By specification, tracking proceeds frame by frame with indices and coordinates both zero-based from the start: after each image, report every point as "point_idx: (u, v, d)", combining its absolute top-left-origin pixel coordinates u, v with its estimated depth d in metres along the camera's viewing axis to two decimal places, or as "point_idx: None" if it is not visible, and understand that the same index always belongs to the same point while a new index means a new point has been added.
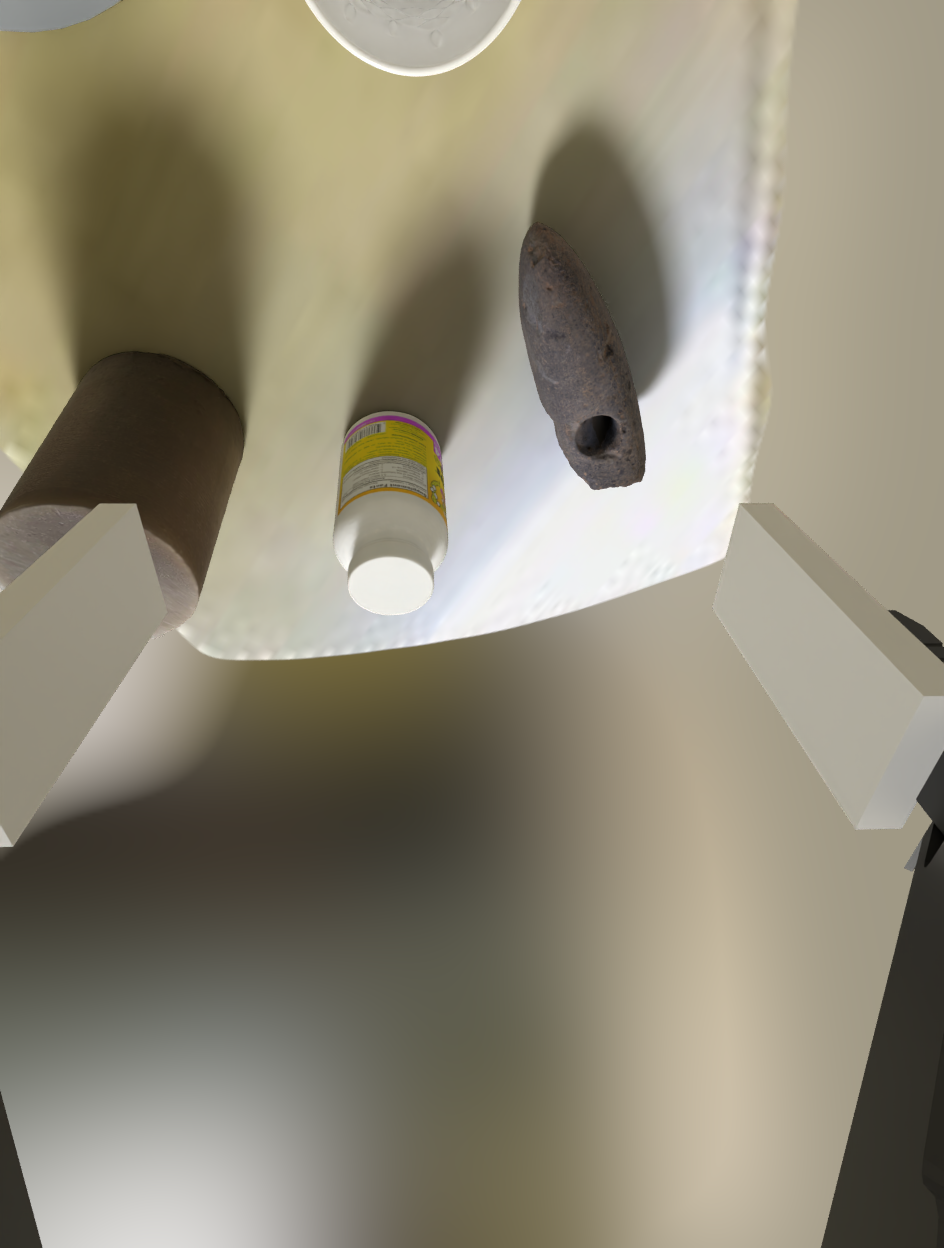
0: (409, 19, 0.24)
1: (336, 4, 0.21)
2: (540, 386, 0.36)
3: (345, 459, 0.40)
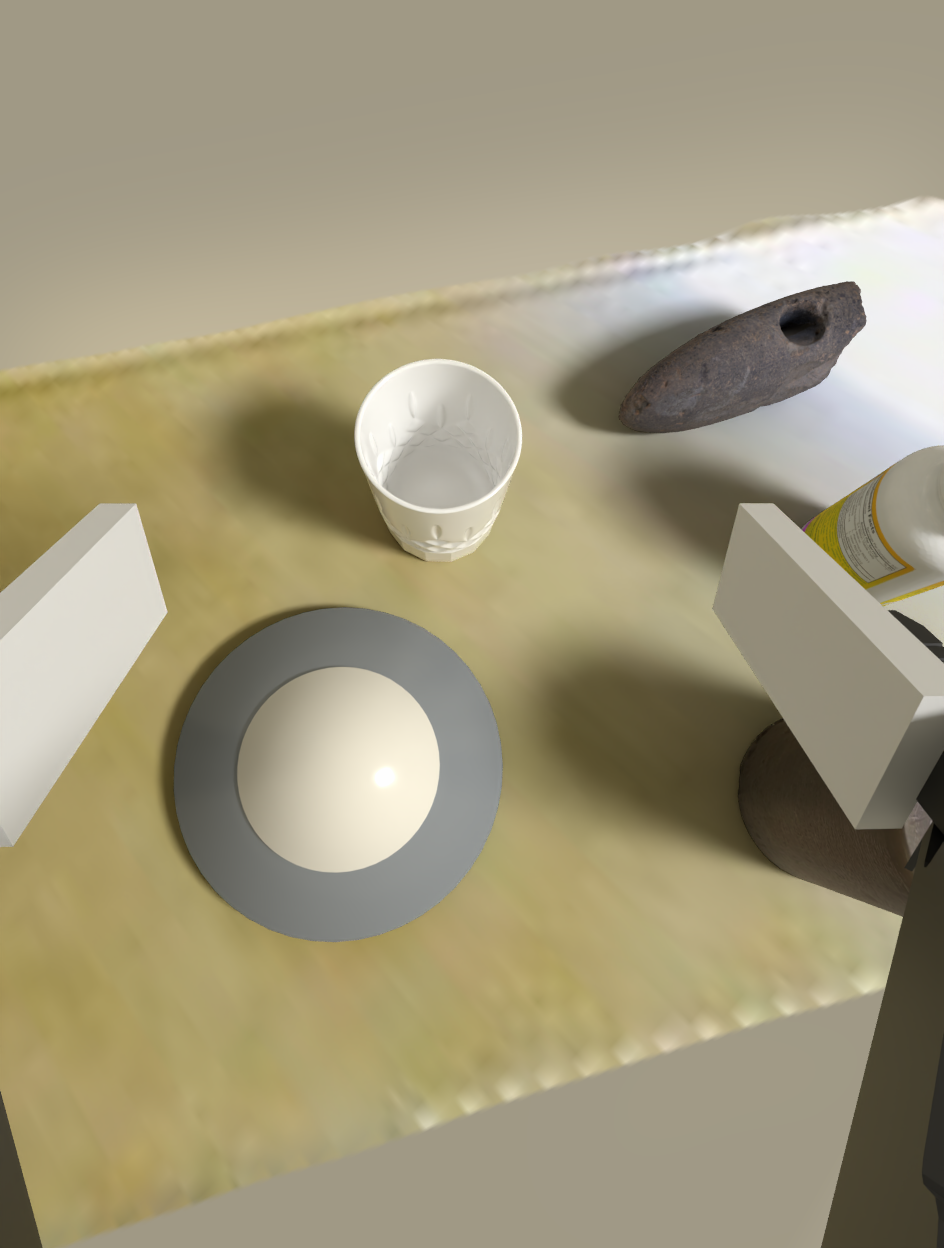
0: None
1: None
2: (754, 390, 0.37)
3: None
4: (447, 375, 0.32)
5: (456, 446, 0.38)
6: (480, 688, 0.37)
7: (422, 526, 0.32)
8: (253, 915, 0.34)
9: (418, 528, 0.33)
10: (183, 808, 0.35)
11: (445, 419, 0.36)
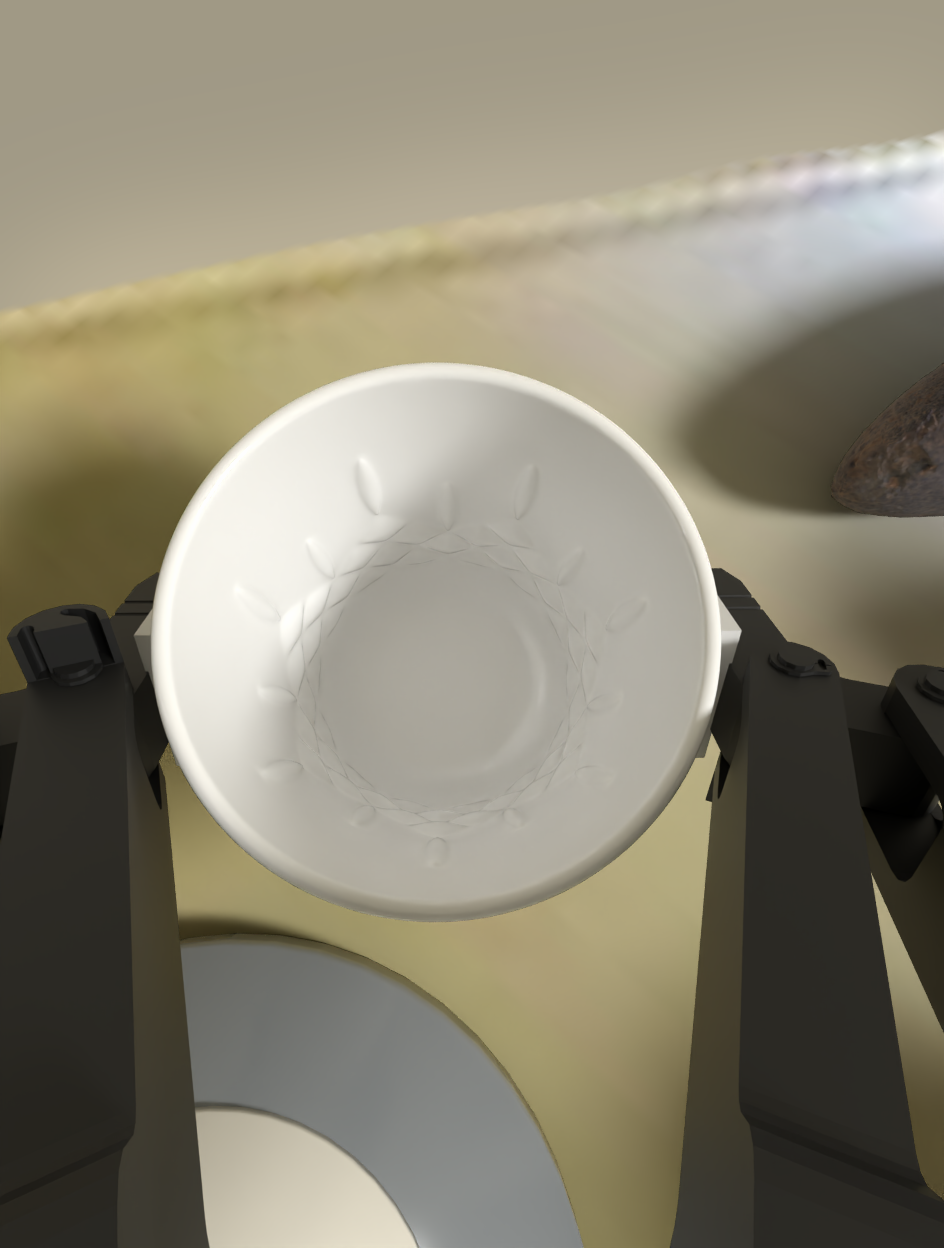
0: (586, 679, 0.14)
1: (585, 799, 0.11)
2: None
3: None
4: (467, 412, 0.11)
5: (482, 564, 0.17)
6: (542, 1153, 0.15)
7: None
8: None
9: None
10: None
11: (459, 514, 0.14)
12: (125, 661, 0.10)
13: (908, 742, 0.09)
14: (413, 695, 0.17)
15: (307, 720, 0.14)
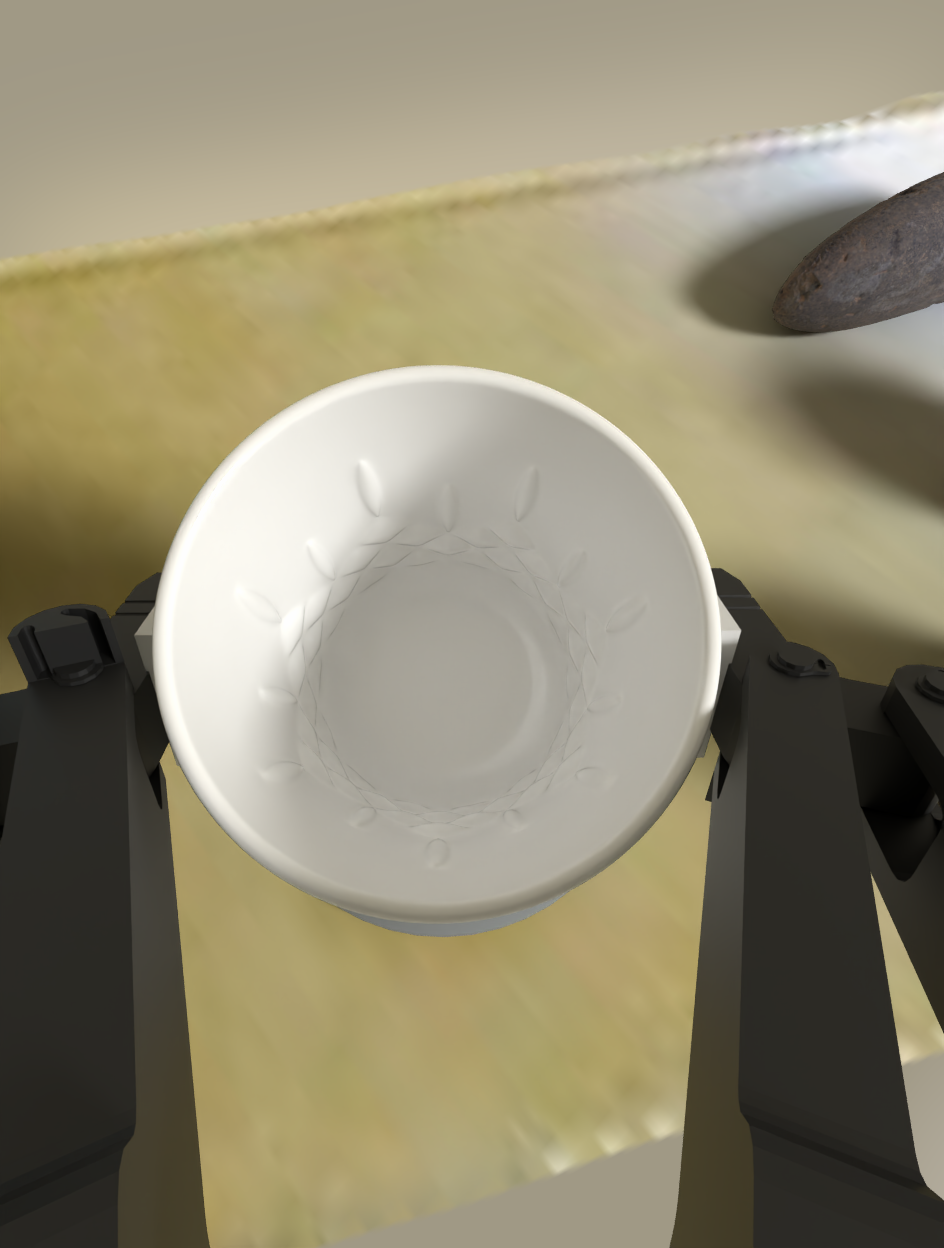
0: (586, 680, 0.14)
1: (586, 801, 0.11)
2: None
3: None
4: (467, 415, 0.11)
5: (482, 565, 0.17)
6: None
7: None
8: None
9: None
10: None
11: (459, 516, 0.14)
12: (125, 661, 0.10)
13: (907, 742, 0.09)
14: (413, 696, 0.17)
15: (308, 721, 0.14)
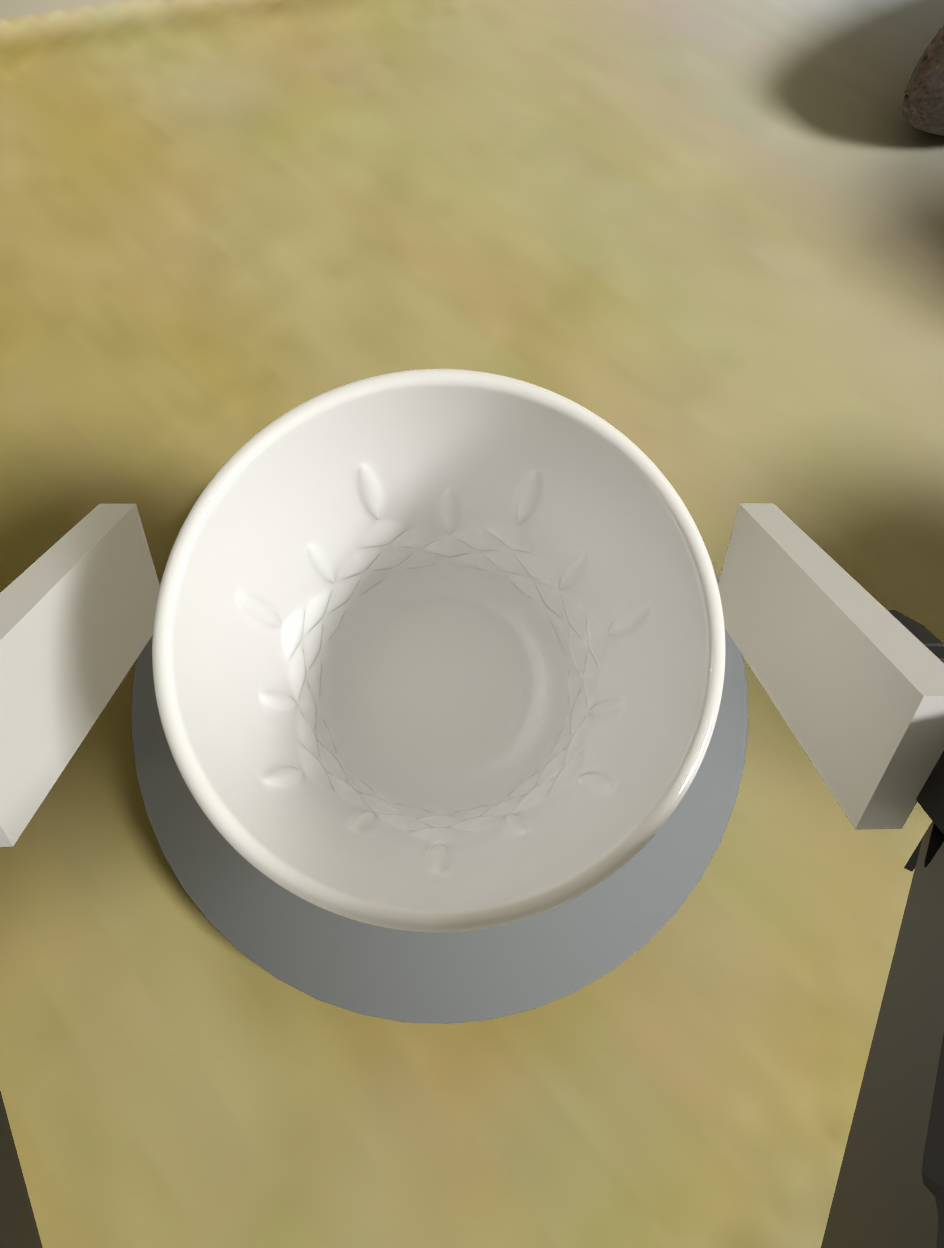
0: (588, 684, 0.14)
1: (588, 807, 0.11)
2: None
3: None
4: (469, 419, 0.11)
5: (483, 568, 0.17)
6: None
7: None
8: (286, 971, 0.17)
9: None
10: (149, 764, 0.18)
11: (461, 518, 0.14)
12: None
13: None
14: (414, 699, 0.17)
15: (308, 725, 0.14)
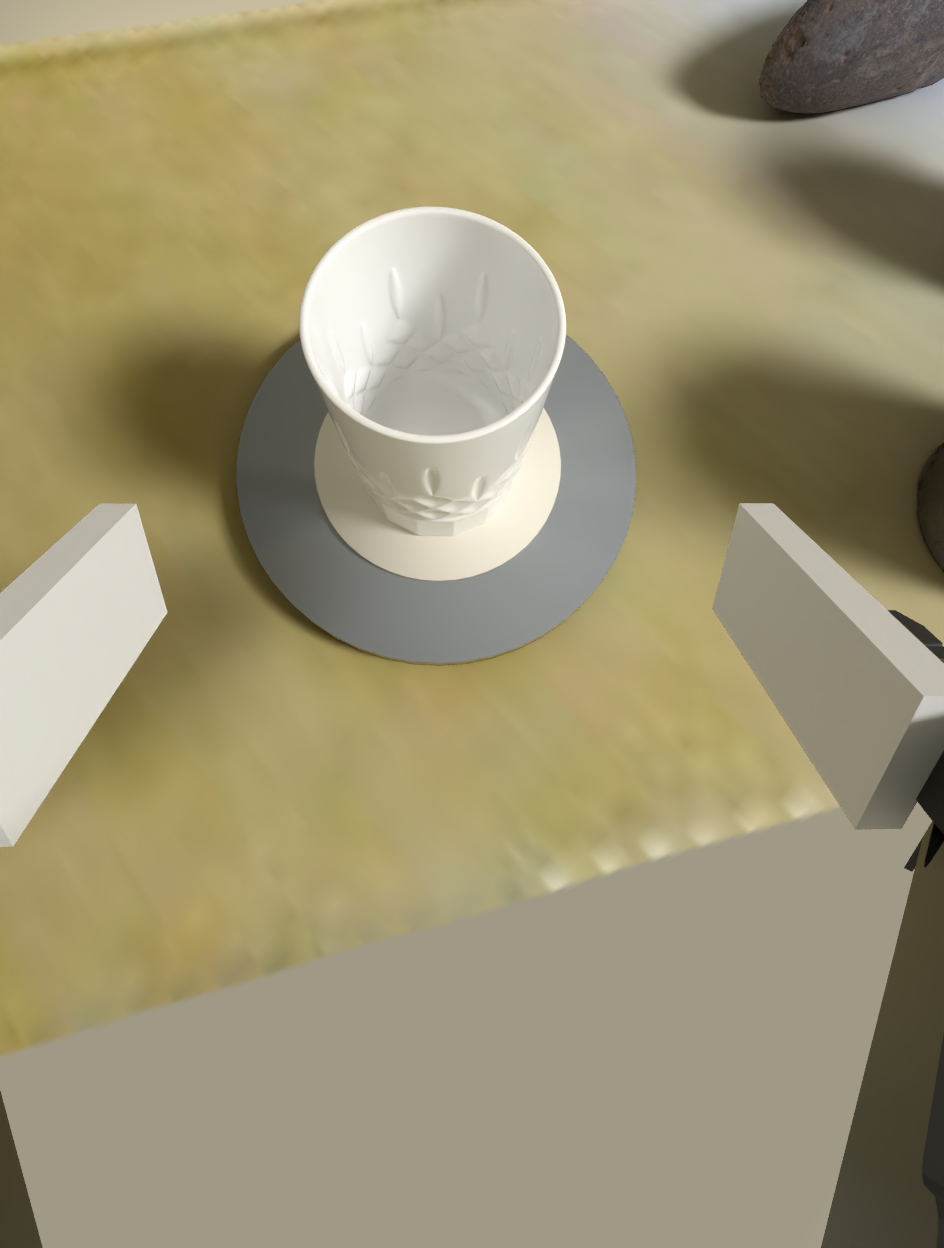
0: None
1: None
2: (934, 22, 0.31)
3: None
4: (448, 238, 0.21)
5: (461, 370, 0.27)
6: (605, 380, 0.30)
7: (408, 471, 0.21)
8: (337, 630, 0.28)
9: (403, 475, 0.21)
10: (248, 508, 0.29)
11: (446, 323, 0.24)
12: None
13: None
14: None
15: None
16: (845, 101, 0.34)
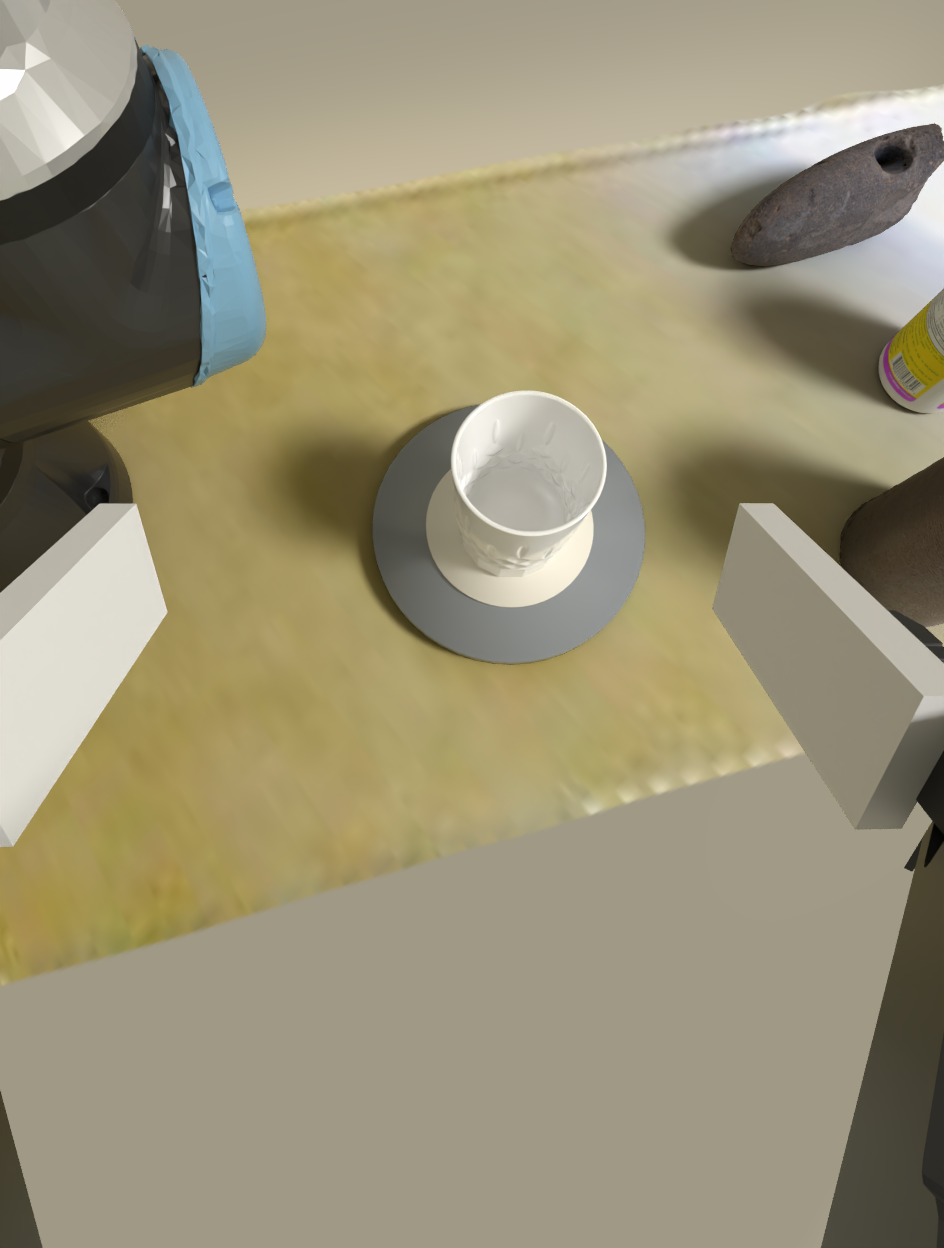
0: (571, 506, 0.38)
1: None
2: (851, 216, 0.44)
3: (932, 378, 0.43)
4: (533, 405, 0.34)
5: (529, 468, 0.40)
6: (623, 466, 0.44)
7: (510, 547, 0.34)
8: (445, 641, 0.41)
9: (505, 548, 0.35)
10: (382, 558, 0.42)
11: (523, 444, 0.38)
12: None
13: None
14: (500, 524, 0.41)
15: None
16: (792, 260, 0.47)
